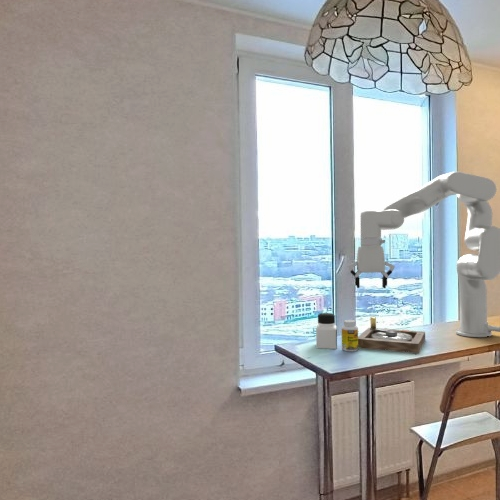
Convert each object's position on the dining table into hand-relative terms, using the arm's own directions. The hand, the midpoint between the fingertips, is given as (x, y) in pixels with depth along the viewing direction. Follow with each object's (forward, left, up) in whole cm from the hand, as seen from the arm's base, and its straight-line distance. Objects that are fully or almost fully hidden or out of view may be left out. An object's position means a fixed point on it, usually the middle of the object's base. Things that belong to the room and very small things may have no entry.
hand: (371, 287), depth 166 cm
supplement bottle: (+4, +18, -20) cm, 28 cm away
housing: (-8, +4, -20) cm, 22 cm away
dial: (-7, +3, -19) cm, 20 cm away
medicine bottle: (+13, +16, -20) cm, 29 cm away
